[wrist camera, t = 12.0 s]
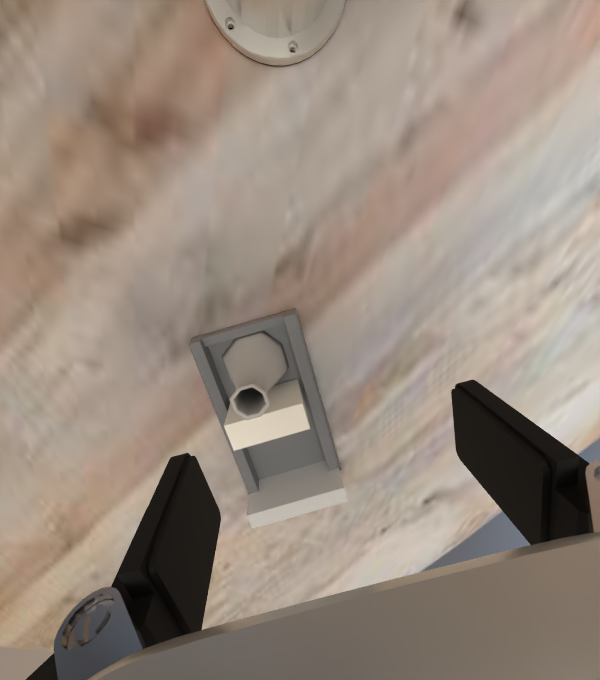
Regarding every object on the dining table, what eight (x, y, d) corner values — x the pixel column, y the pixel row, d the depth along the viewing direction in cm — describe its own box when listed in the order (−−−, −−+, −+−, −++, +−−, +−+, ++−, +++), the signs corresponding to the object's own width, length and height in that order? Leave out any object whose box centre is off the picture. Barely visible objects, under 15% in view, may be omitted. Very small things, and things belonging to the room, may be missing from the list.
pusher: (231, 397, 36) (223, 425, 30) (297, 378, 36) (302, 403, 30) (239, 419, 37) (233, 450, 31) (304, 400, 37) (310, 428, 31)
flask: (263, 317, 34) (260, 344, 24) (300, 368, 36) (309, 411, 26) (210, 353, 35) (186, 393, 25) (249, 401, 37) (240, 454, 27)
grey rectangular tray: (192, 337, 35) (176, 355, 29) (295, 308, 35) (299, 319, 29) (253, 490, 41) (249, 529, 35) (339, 465, 41) (350, 500, 35)
